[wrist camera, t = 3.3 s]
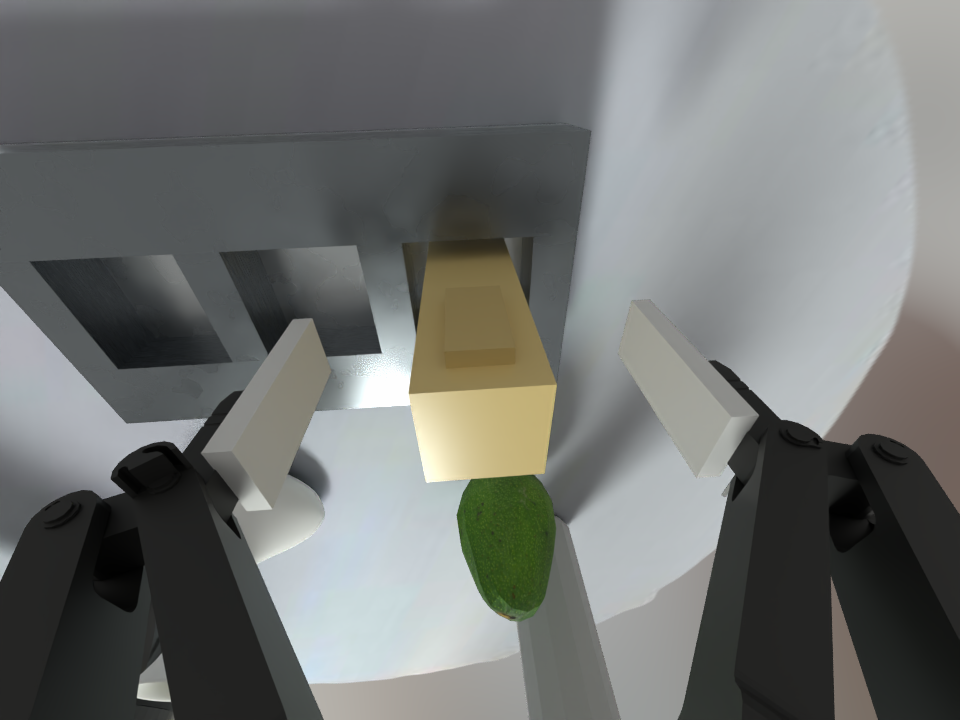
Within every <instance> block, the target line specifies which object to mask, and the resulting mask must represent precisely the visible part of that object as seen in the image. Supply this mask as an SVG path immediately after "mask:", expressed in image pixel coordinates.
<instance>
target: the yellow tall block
mask: <svg viewBox="0 0 960 720" xmlns="http://www.w3.org/2000/svg"><path fill="white" fill-rule="evenodd" d="M556 388H557V383H556V381H555V378H554V375H553V372H552V370H551V367H550V364H549V361H548V359H547V356H546V353H545V350H544V348H543V345H542V342H541V339H540V337H539V334H538V331H537V328H536V326H535V323H534V320H533V317H532V315H531V312H530V309H529V306H528V304H527V301H526V298H525V295H524V293H523V290H522V287H521V284H520V282H519V279H518V276H517V273H516V271H515V268H514V265H513V262H512V260H511V257H510V254H509V251H508V249H507V246H506V243H505V240H504V238H495V239H475V240H455V241H434V242H429V246H428V254H427V261H426V268H425V275H424V283H423V290H422V297H421V305H420V312H419V319H418V326H417V334H416V341H415V348H414V356H413V363H412V370H411V377H410V385H409V392H408V396H409V401H410V406H411V411H412V416H413V420H414V425H415V430H416V435H417V440H418V445H419V450H420V455H421V460H422V465H423V470H424V475H425V480H426V482H439V481H452V480H465V479H479V478H492V477H506V476H519V475H533V474H545V467H546V460H547V453H548V445H549V438H550V431H551V424H552V417H553V409H554V402H555V395H556Z"/></svg>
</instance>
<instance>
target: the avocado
mask: <svg viewBox="0 0 960 720" xmlns="http://www.w3.org/2000/svg"><path fill="white" fill-rule="evenodd" d="M457 520H458V527H459V534H460V541H461V547H462V552H463V554H464V557H465V559H466V562H467V564H468V567H469V569H470V572H471V574H472V577H473V579H474V582H475V584H476V586H477V589H478V591H479V593H480V594H481V596H482V598H483V600H484V601H485V602H486V603H487V605H488V606H489V607H490V608H491V609H492V610H493V611H495V612H496V613H497V614H499V615H500V616H502V617H504V618H506V619H508V620H510V621H518V622H521V621H523V620H526V619H528V618H530V617H533V616H534V615H535V613H536V612H537V610H538V609H539V607H540V605H541V604H542V602H543V600H544V598H545V595H546V591H547V586H548V581H549V576H550V571H551V565H552V560H553V554H554V546H555V537H556V523H555V517H554V511H553V505H552V501H551V498H550V497H549V495H548V493H547V491H546V490H545V488H544V486H543V485H542V483H541V482H540V481H539V480H538V479H537V478H536V477H535V475H519V476H506V477H492V478H479V479H471V480H470V482H469V484H468V485H467V487H466V489H465V490H464V492H463V495H462V498H461V502H460V505H459V509H458V512H457Z"/></svg>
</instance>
